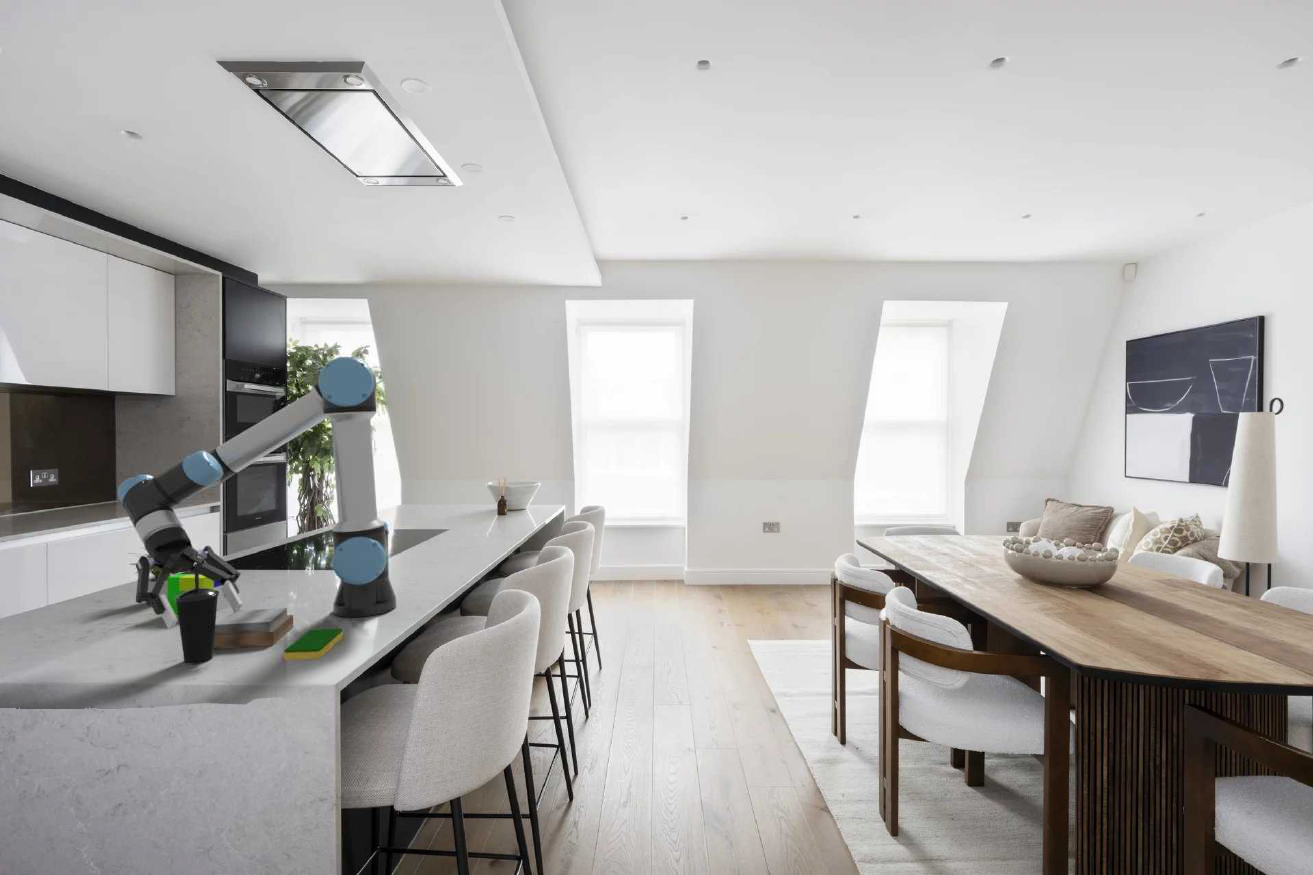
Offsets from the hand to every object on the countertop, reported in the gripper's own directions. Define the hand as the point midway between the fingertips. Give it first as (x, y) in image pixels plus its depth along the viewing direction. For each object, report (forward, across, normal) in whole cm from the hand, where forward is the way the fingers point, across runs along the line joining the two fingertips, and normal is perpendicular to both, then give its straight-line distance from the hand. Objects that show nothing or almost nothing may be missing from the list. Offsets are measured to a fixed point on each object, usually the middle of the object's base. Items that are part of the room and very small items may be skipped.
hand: (207, 616), depth 135 cm
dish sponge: (+16, -15, +1) cm, 22 cm away
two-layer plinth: (+2, -13, -11) cm, 18 cm away
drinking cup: (+5, 0, -9) cm, 10 cm away
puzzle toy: (-22, -21, -36) cm, 47 cm away
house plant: (-37, -22, -50) cm, 66 cm away
